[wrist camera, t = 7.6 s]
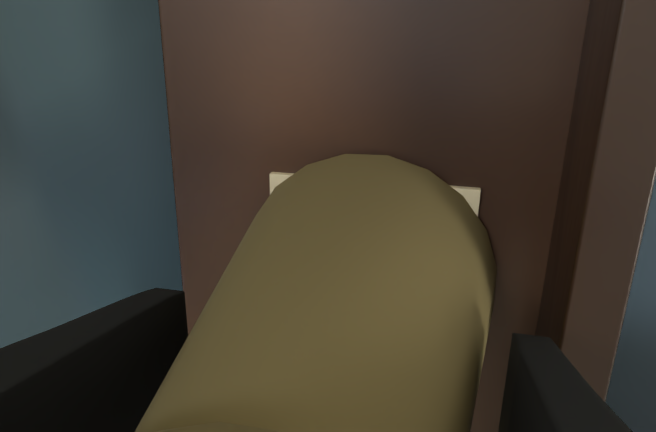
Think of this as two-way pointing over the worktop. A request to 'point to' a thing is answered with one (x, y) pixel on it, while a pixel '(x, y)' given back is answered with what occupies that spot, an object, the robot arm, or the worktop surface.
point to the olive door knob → (341, 311)
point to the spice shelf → (433, 139)
